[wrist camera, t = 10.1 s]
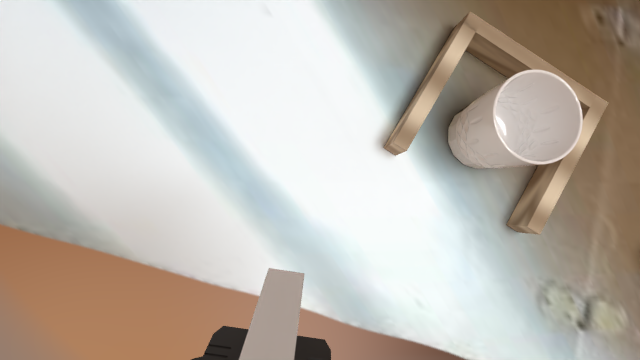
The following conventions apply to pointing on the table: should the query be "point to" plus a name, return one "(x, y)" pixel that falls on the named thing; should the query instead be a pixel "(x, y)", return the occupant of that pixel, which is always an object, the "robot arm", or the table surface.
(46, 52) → the table surface
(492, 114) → the white cup
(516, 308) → the table surface
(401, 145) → the corral
